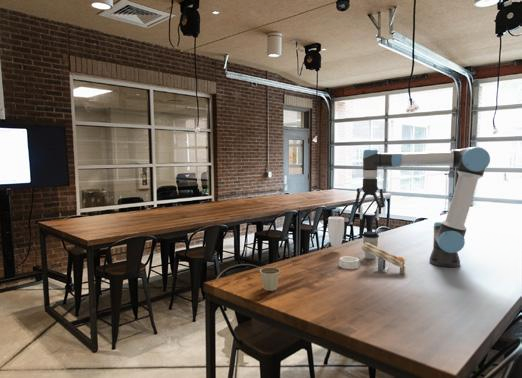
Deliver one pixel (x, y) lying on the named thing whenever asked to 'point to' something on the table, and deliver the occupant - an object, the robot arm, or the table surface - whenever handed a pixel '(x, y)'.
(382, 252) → the lever
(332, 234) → the cup
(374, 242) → the coffee cup
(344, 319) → the table surface
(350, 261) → the bowl
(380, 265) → the fulcrum
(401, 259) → the ball
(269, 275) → the flower pot
